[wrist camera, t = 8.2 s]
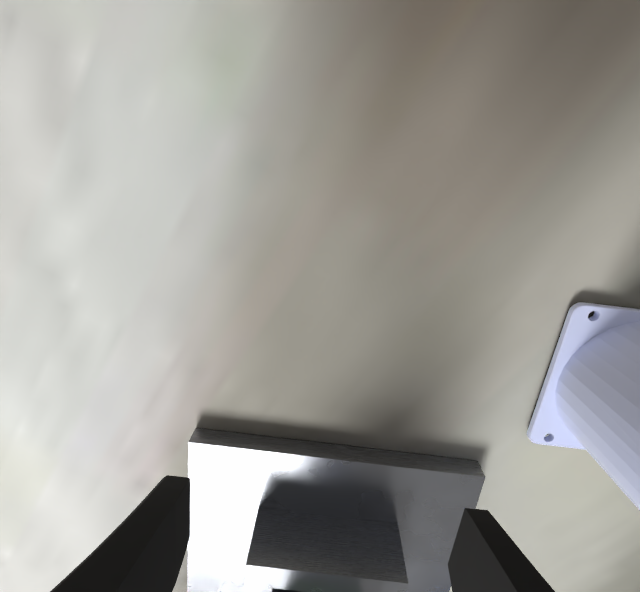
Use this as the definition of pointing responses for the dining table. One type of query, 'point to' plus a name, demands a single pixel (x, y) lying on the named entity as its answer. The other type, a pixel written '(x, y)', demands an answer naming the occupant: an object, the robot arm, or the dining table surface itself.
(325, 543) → the stand base
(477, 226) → the dining table surface
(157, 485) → the robot arm
